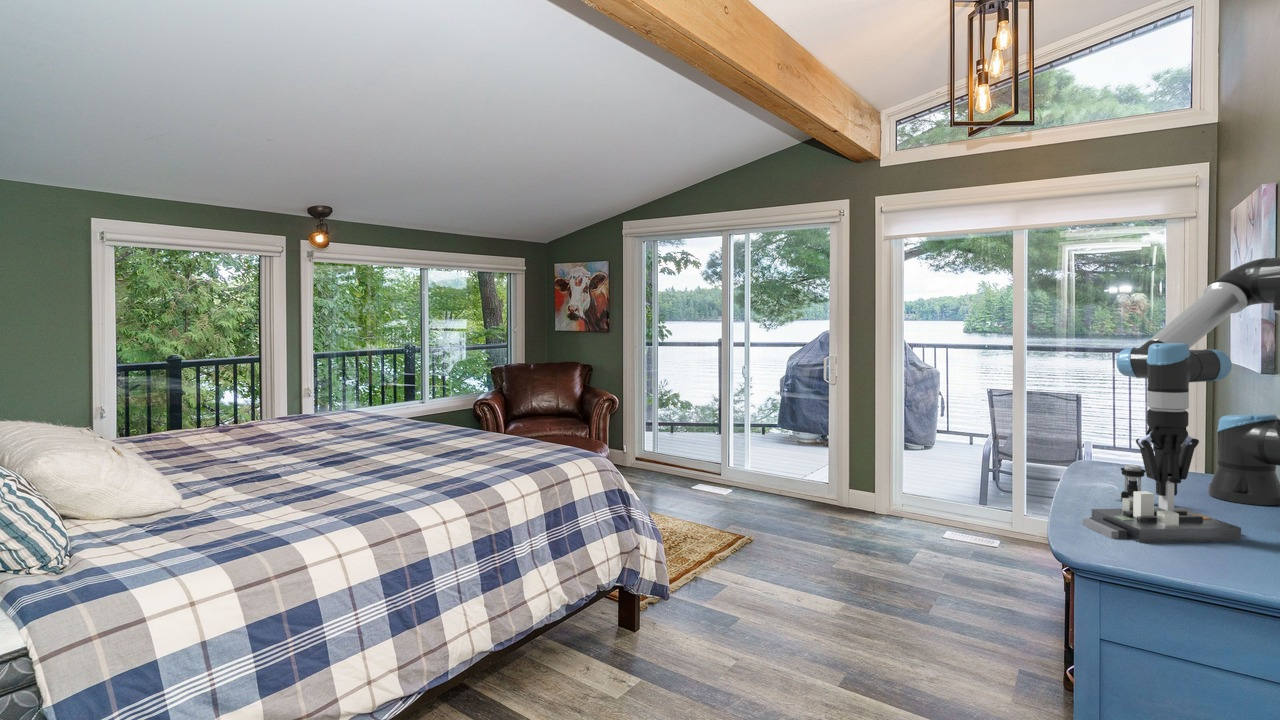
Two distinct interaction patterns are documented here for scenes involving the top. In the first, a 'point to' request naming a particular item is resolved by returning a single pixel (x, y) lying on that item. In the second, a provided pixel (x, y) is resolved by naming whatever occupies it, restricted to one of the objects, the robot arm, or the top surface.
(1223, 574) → the top surface
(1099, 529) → the narrow gray bar
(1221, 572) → the top surface
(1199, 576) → the top surface
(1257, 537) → the top surface
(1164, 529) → the panel
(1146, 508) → the lever
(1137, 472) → the push button
